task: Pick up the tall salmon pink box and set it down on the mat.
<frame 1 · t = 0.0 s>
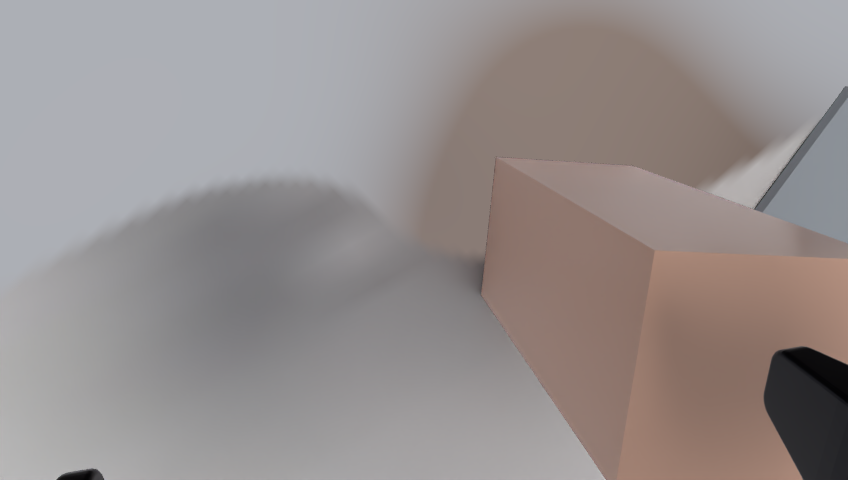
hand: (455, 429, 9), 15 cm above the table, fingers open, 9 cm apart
tall salmon pink box: (556, 230, 26), on the table
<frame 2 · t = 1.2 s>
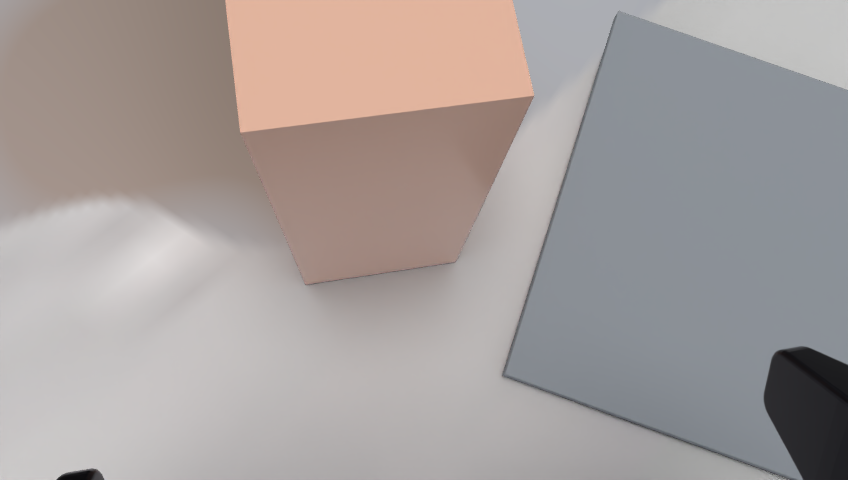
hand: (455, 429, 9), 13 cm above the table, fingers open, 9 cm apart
tall salmon pink box: (370, 202, 24), on the table
mat: (754, 250, 25), on the table
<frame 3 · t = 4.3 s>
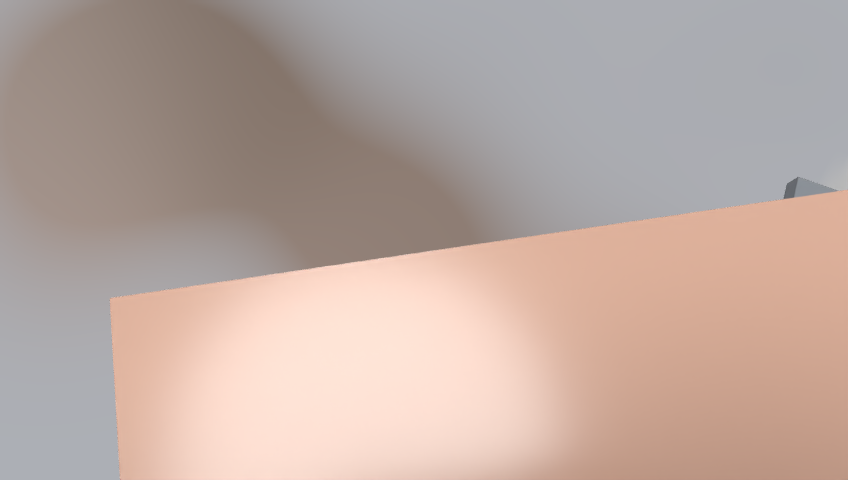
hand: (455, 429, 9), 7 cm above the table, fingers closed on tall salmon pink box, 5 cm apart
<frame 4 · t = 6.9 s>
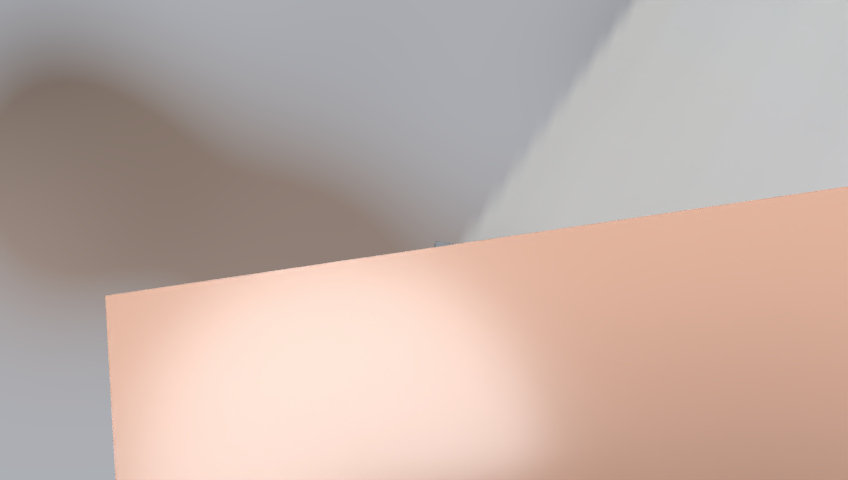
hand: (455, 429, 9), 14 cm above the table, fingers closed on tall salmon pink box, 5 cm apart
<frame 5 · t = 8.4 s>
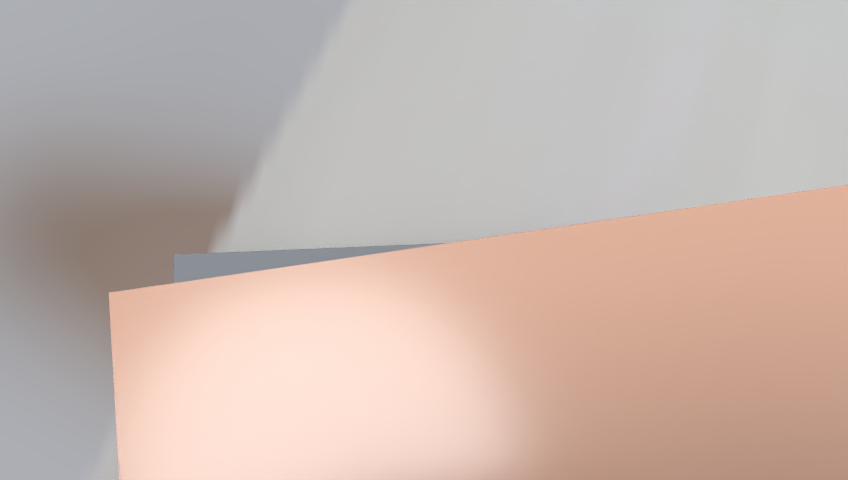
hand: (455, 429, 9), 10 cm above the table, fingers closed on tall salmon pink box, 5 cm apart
when the fingers open (8 cm above the table, at t = 9.7 s): tall salmon pink box stays where it is, resting on mat.
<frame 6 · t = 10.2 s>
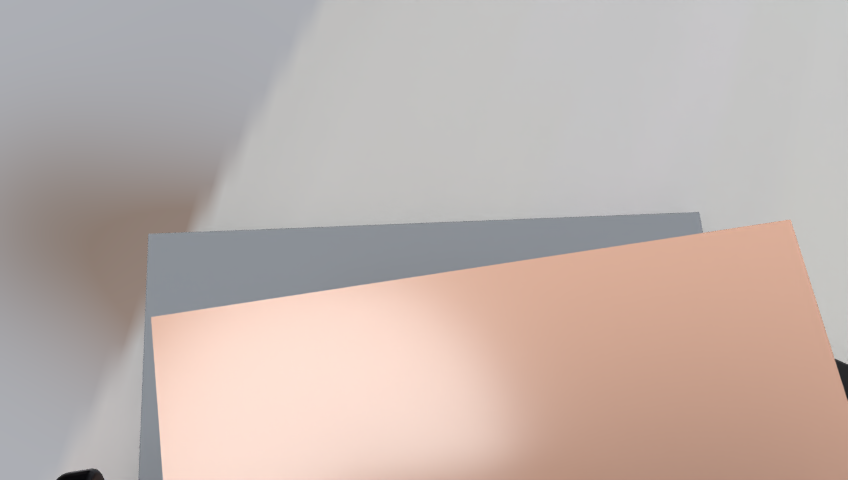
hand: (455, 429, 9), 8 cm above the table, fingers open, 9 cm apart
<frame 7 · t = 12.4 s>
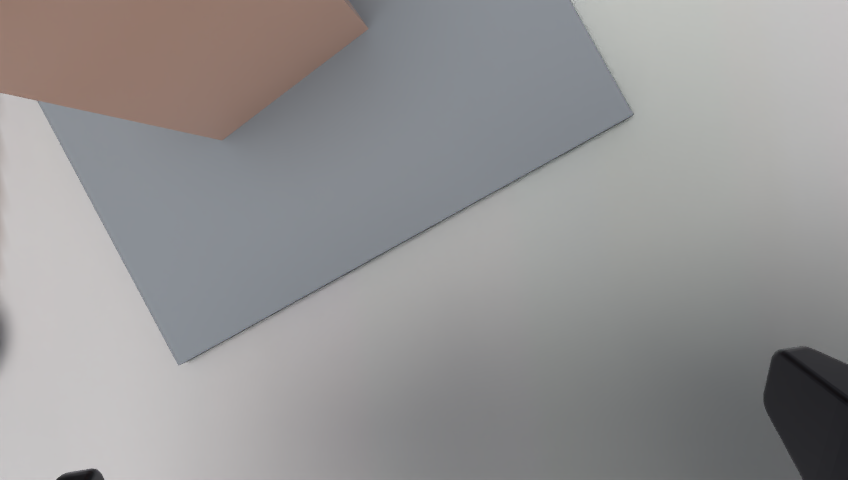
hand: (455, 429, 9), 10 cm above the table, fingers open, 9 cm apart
tall salmon pink box: (241, 10, 19), resting on mat
mat: (275, 22, 20), on the table
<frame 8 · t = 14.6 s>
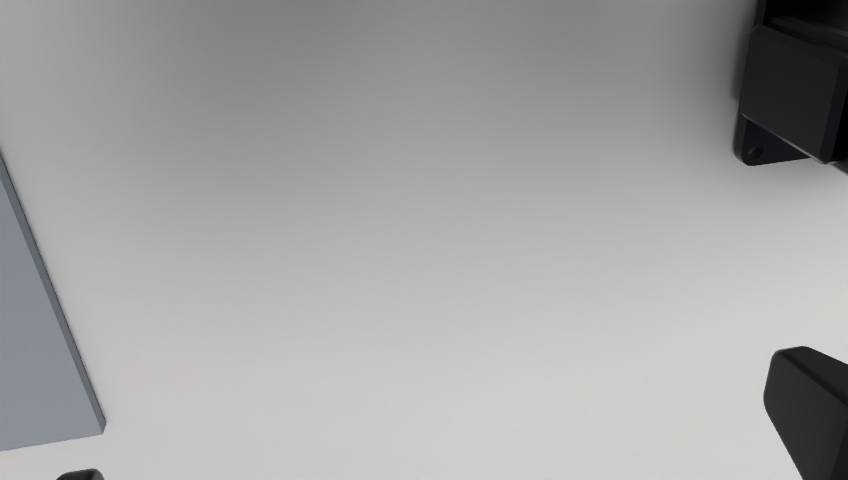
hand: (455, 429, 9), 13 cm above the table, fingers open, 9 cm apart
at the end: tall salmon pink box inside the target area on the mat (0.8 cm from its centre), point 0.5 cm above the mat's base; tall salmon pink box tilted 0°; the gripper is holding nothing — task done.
